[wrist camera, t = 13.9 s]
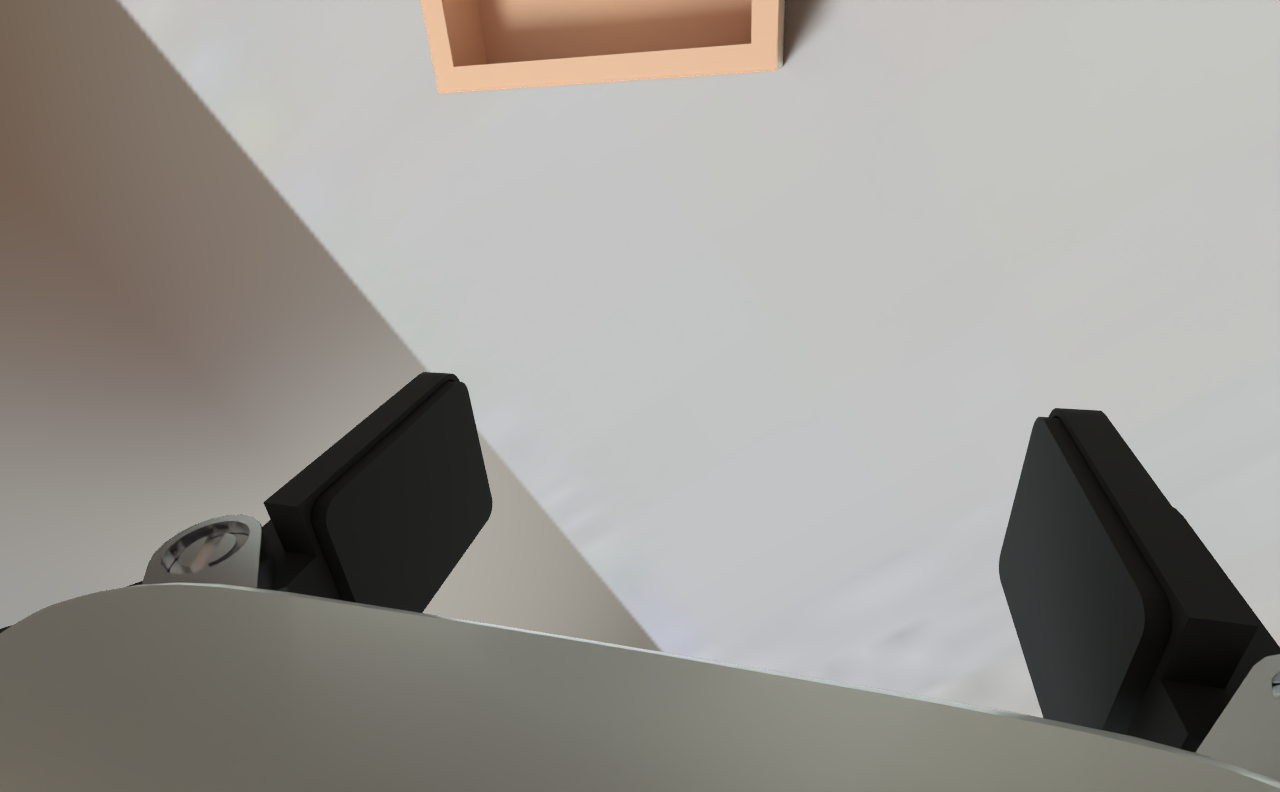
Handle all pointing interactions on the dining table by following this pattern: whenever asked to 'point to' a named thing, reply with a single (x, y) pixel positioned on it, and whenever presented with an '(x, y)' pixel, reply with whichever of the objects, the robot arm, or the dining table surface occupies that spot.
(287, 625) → the robot arm
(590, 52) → the tub
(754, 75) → the dining table surface
